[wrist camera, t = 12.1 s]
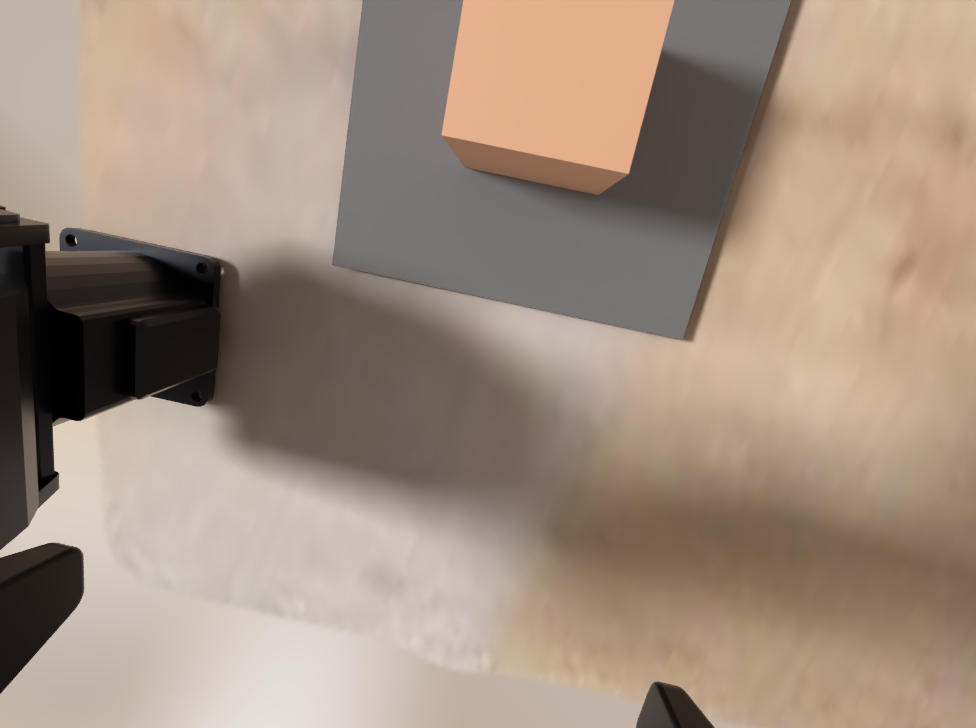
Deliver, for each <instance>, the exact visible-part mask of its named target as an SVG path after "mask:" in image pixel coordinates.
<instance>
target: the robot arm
mask: <svg viewBox="0 0 976 728" xmlns="http://www.w3.org/2000/svg"><path fill="white" fill-rule="evenodd" d="M49 237H50V236H49V224H48V223H43V222H38V221H34V220H29V219H25V218H20V215H19V214H17V213H13V212H10V211H6V208H5V207H3V206H0V550H1V549H2V548H3V547H4V546H5V545H6V544H8V543H9V542H10V541H11V540H12V539H14V538H15V537H16V536H17V535H18V534H20V533H21V532H22V531H23V530H24V529H26V528H27V527H28V526H29V524H30V522H31V520H32V518H33V516H34V515H35V512H36V511H37V509H38V508H39V507H40V506H41V505H42V504H43V503H44V502H45V501H46V500H47V499H48V498H49V497H50V496H51V495H53V494H54V493H55V492H56V491H57V490H58V489H59V473H58V472H56V471H54V450H53V426H56V425H58V424H61V423H64V422H66V421H69V420H75V421H81V420H84V419H86V418H89V417H92V416H94V415H97V414H99V413H102V412H104V411H107V410H109V409H112V408H115V407H117V406H120V405H122V404H125V403H127V402H130V401H133V400H135V399H144V398H146V397H149V396H152V397H156V398H161V399H165V400H170V401H174V402H179V403H183V404H188V405H192V406H203V405H205V404H207V403H209V402H211V400H212V399H213V396H214V381H215V369H216V368H217V363H218V345H219V327H220V312H219V310H218V308H219V290H220V272H221V271H220V265H219V263H218V262H217V261H216V260H215V259H214V258H212V257H210V256H206V255H201V254H197V253H192V252H187V251H183V250H178V249H174V248H169V247H164V246H160V245H155V244H150V243H146V242H141V241H136V240H132V239H127V238H122V237H118V236H113V235H109V234H104V233H99V232H95V231H90V230H85V229H81V228H65V229H64V230H62V232H61V233H60V251H45V243H49V242H50V238H49ZM75 237H76V238H77V244H76V243H75V240H74V239H75ZM204 263H205V264H206V265H207V266H208V273H207V274H206V273H205V272H204V271H203V265H204ZM197 391H200V392H201V394H202V398H201V397H199V395H198V393H197ZM83 593H84V563H83V553H82V551H81V550H80V549H79V548H77V547H73V546H69V545H64V544H60V543H48V544H45V545H41V546H38V547H35V548H31V549H28V550H25V551H22V552H18V553H15V554H12V555H8V556H5V557H2V558H0V694H1V692H2V691H3V690H4V689H5V688H6V687H7V686H8V685H9V683H10V682H11V681H12V680H13V679H14V678H15V677H16V676H17V674H18V673H19V672H20V671H21V670H22V669H23V667H24V666H25V665H26V664H27V663H28V662H29V661H30V660H31V658H32V657H33V656H34V655H35V654H36V653H37V652H38V651H39V649H40V648H41V647H42V646H43V645H44V644H45V643H46V641H47V640H48V639H49V638H50V637H51V636H52V635H53V634H54V633H55V631H56V630H57V629H58V628H59V627H60V626H61V624H62V623H63V622H64V621H65V620H66V619H67V618H68V617H69V616H70V614H71V613H72V612H73V611H74V610H75V608H76V607H77V606H78V604H79V603H80V601H81V599H82V596H83ZM636 728H714V726H713V725H712V724H711V723H710V721H709V720H708V719H707V718H706V716H705V715H704V714H703V713H702V711H701V710H700V709H699V708H698V707H697V705H696V704H695V703H694V702H693V700H692V699H691V698H690V697H689V695H688V694H687V693H686V692H685V691H684V690H683V689H682V688H680V687H678V686H675V685H671V684H666V683H662V682H654V683H653V684H652V685H651V687H650V688H649V691H648V694H647V696H646V699H645V702H644V704H643V707H642V710H641V713H640V715H639V718H638V721H637V726H636Z"/></svg>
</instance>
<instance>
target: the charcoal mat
mask: <svg viewBox="0 0 976 728" xmlns="http://www.w3.org/2000/svg"><path fill="white" fill-rule="evenodd" d="M790 3H791V0H674V4H673V8H672V12H671V15H670V19H669V23H668V27H667V31H666V34H665V38H664V42H663V46H662V49H661V53H660V57H659V61H658V65H657V68H656V72H655V76H654V80H653V84H652V87H651V91H650V95H649V99H648V103H647V106H646V110H645V114H644V118H643V122H642V125H641V129H640V133H639V137H638V141H637V144H636V148H635V152H634V156H633V159H632V163H631V167H630V171H629V174H628V175H626V176H625V177H624V178H622V179H621V180H619V181H618V182H616V183H615V184H614V185H612V186H611V187H609V188H608V189H606V190H605V191H604V192H602V193H601V194H599V195H595V194H590V193H585V192H581V191H576V190H571V189H566V188H561V187H557V186H552V185H547V184H542V183H537V182H533V181H528V180H523V179H518V178H513V177H509V176H504V175H499V174H494V173H489V172H485V171H480V170H475V169H470V168H465V167H464V166H463V164H462V163H461V162H460V160H459V159H458V157H457V156H456V155H455V153H454V152H453V151H452V149H451V148H450V146H449V145H448V144H447V142H446V141H445V139H444V138H443V137H442V129H443V122H444V116H445V110H446V104H447V98H448V92H449V86H450V80H451V73H452V67H453V61H454V55H455V49H456V43H457V37H458V30H459V24H460V18H461V12H462V6H463V0H363V4H362V12H361V21H360V29H359V38H358V47H357V55H356V64H355V73H354V81H353V90H352V99H351V107H350V116H349V125H348V133H347V142H346V151H345V159H344V168H343V177H342V185H341V194H340V203H339V211H338V220H337V228H336V237H335V246H334V254H333V263H332V265H335V266H339V267H344V268H349V269H353V270H358V271H363V272H367V273H372V274H377V275H381V276H386V277H391V278H395V279H400V280H405V281H409V282H414V283H419V284H423V285H428V286H433V287H437V288H442V289H447V290H451V291H456V292H461V293H465V294H470V295H475V296H479V297H484V298H489V299H493V300H498V301H502V302H507V303H512V304H516V305H521V306H526V307H530V308H535V309H540V310H544V311H549V312H554V313H558V314H563V315H568V316H572V317H577V318H582V319H586V320H591V321H596V322H600V323H605V324H610V325H614V326H619V327H624V328H628V329H633V330H638V331H642V332H647V333H652V334H656V335H661V336H666V337H670V338H675V339H680V340H683V337H684V334H685V331H686V328H687V325H688V322H689V318H690V315H691V312H692V309H693V306H694V303H695V300H696V297H697V293H698V290H699V287H700V284H701V281H702V278H703V275H704V272H705V268H706V265H707V262H708V259H709V256H710V253H711V250H712V247H713V243H714V240H715V237H716V234H717V231H718V228H719V225H720V222H721V218H722V215H723V212H724V209H725V206H726V203H727V200H728V197H729V193H730V190H731V187H732V184H733V181H734V178H735V175H736V172H737V169H738V165H739V162H740V159H741V156H742V153H743V150H744V147H745V144H746V140H747V137H748V134H749V131H750V128H751V125H752V122H753V119H754V115H755V112H756V109H757V106H758V103H759V100H760V97H761V94H762V90H763V87H764V84H765V81H766V78H767V75H768V72H769V69H770V65H771V62H772V59H773V56H774V53H775V50H776V47H777V44H778V40H779V37H780V34H781V31H782V28H783V25H784V22H785V19H786V15H787V12H788V9H789V6H790Z"/></svg>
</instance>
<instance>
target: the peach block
mask: <svg viewBox="0 0 976 728" xmlns="http://www.w3.org/2000/svg"><path fill="white" fill-rule="evenodd" d="M673 4H674V0H463V6H462V12H461V18H460V24H459V30H458V37H457V43H456V49H455V55H454V61H453V67H452V73H451V80H450V86H449V92H448V98H447V104H446V110H445V116H444V122H443V129H442V137H443V138H444V139H445V141H446V142H447V144H448V145H449V146H450V148H451V149H452V151H453V152H454V153H455V155H456V156H457V157H458V159H459V160H460V162H461V163H462V164H463V166H464V167H465V168H470V169H475V170H480V171H485V172H489V173H494V174H499V175H504V176H509V177H513V178H518V179H523V180H528V181H533V182H537V183H542V184H547V185H552V186H557V187H561V188H566V189H571V190H576V191H581V192H585V193H590V194H595V195H599V194H601V193H602V192H604V191H605V190H606V189H608V188H609V187H611V186H612V185H614V184H615V183H616V182H618V181H619V180H621V179H622V178H624V177H625V176H626V175H628V174H629V171H630V167H631V163H632V159H633V156H634V152H635V148H636V144H637V141H638V137H639V133H640V129H641V125H642V122H643V118H644V114H645V110H646V106H647V103H648V99H649V95H650V91H651V87H652V84H653V80H654V76H655V72H656V68H657V65H658V61H659V57H660V53H661V49H662V46H663V42H664V38H665V34H666V31H667V27H668V23H669V19H670V15H671V12H672V8H673Z"/></svg>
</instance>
